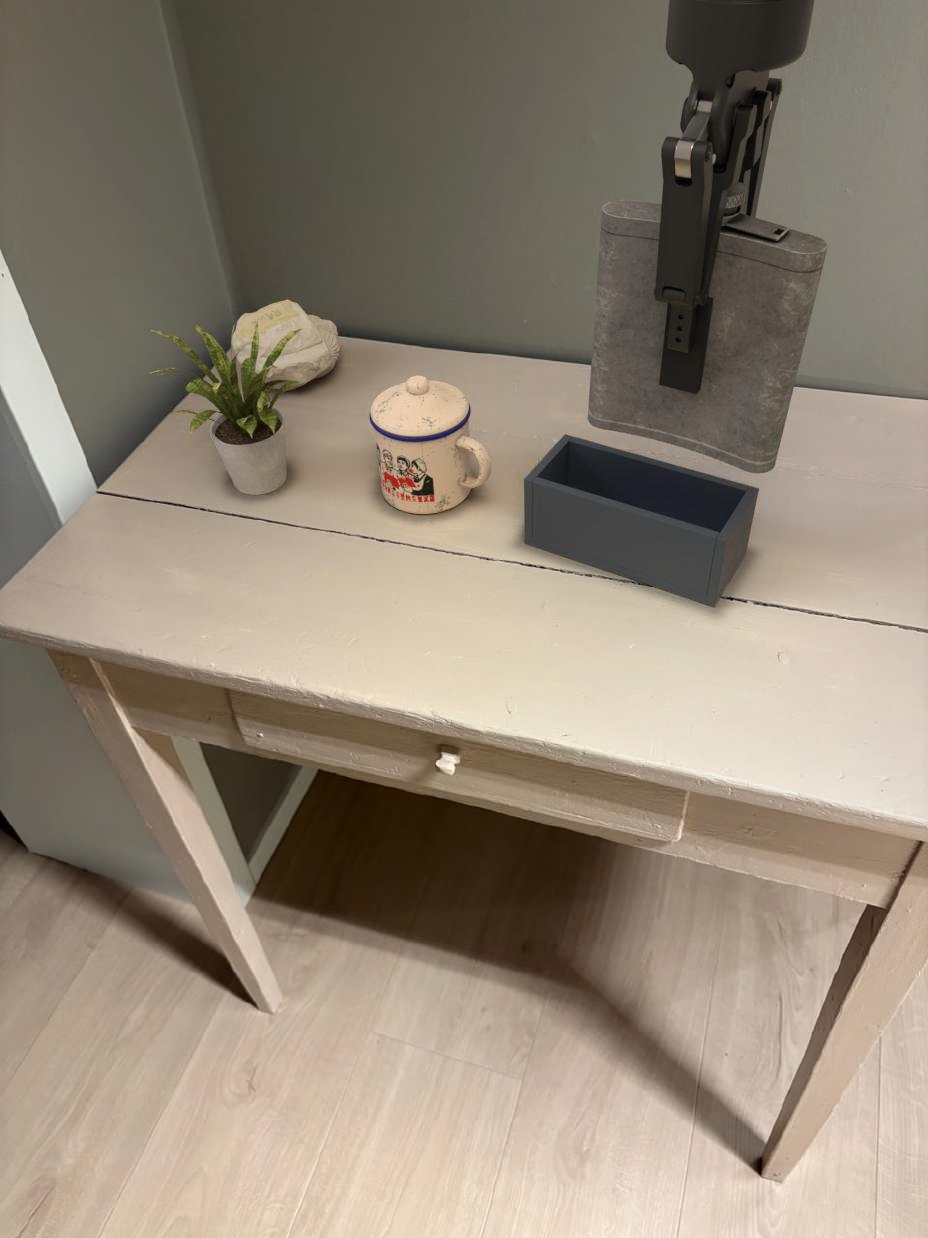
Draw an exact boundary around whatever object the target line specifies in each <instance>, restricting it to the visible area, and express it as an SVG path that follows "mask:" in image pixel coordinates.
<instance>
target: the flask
mask: <svg viewBox="0 0 928 1238" xmlns="http://www.w3.org/2000/svg"><path fill="white" fill-rule="evenodd" d="M746 187H747V186H745V184H744V183H741V182H737V183H736V184H735V185H733V186H731V187H730V188H729V190H728V195H727V200H726V206H725V211H724V216H723V221H722V226H721V232H720V237H719V242H718V247H717V252H716V258H715V263H714V268H713V273H712V278H711V284H710V289H709V297H711V298H714V299H713V306H712V313H711V320H710V327H709V334H708V341H707V348H706V355H705V362H704V369H703V376H702V383H701V389H700V390H699V392H698V393H697V394H693V393H689V392H685V391H681V390H677V389H673V388H669V387H665V386H661V385H659V380H660V371H661V361H662V352H663V343H664V334H665V324H666V315H667V306H668V303H665V302H661V301H656V300H655V295H654V288H655V286H656V273H657V259H658V246H659V232H660V219H661V205H662V203H660V202H650V201H644V200H642V201H641V200H633V199H617V200H611V201H608V202H607V203H605V204H603V206H602V208H601V209H602V210H601V221H600V222H601V223H600V236H599V250H598V263H597V275H596V277H597V280H596V293H595V306H594V319H593V320H594V322H593V332H592V333H593V335H592V349H591V352H592V353H591V362H590V363H591V364H590V376H589V390H588V391H589V393H588V406H587V421H588V423H589V425H591V426H592V427H594V428H596V429H600V430H604V431H605V430H606V431H612V432H618V433H621V434H622V433H623V434H628V435H631V436H637V437H642V438H645V439H650V440H653V441H658V442H661V443H665V444H667V445H672V446H675V447H678V448H682V449H685V450H689V451H692V452H695V453H697V454H701V455H704V456H706V457H709V458H712V459H715V460H717V461H720V462H722V463H725V464H728V465H730V466H732V467H734V468H736V469H739V470H741V471H744V472H746V473H749V474H758V475H759V474H765V473H768V472H770V471H772V470H773V469H774V468H775V466H776V464H777V460H778V454H779V450H780V446H781V443H782V438H783V434H784V430H785V426H786V421H787V418H788V413H789V409H790V404H791V402H792V397H793V392H794V388H795V384H796V380H797V376H798V372H799V367H800V364H801V359H802V355H803V352H804V347H805V344H806V343H805V342H806V339H807V336H808V335H807V334H808V330H809V327H810V322H811V318H812V314H813V311H814V306H815V301H816V297H817V293H818V290H819V286H820V285H819V284H820V281H821V277H822V272H823V269H824V265H825V260H826V255H827V251H828V248H829V244H828V242H827V241H826V240H825V239H823V238H822V237H820V236H817V235H814V234H812V233H807V232H804V231H801V230H796V229H794V228H793V229H792V228H790V227H789V226H784V225H781V224H778V223H774V222H772V221H768V220H765V219H761V218H758V217H751V216H748V215H745V214H741V213H740V212H741V206H740V205H741V204H742V203H744V201H745V196H746V190H747V188H746Z"/></svg>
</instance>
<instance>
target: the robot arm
mask: <svg viewBox="0 0 928 1238" xmlns="http://www.w3.org/2000/svg"><path fill="white" fill-rule="evenodd" d="M815 1H816V0H668V11H667V23H666V34H665V44H664V45H665V46H664V47H665V51H666V54H667V55H668V57H669V58H670V59H671V60H672V61H673V62H675V63H676V64H678V65H683V66H685V67H686V68H687V69H688V70H689V71H690V73H691V74H692V81H691V83H690V88H689V92H688V96H686V98H685V100H684V102H683V105H682V110H681V115H680V116H681V117H680V123H679V128H680V131H681V133H682V134H681V135H682V136H681V137H677V136H671V135H670V136H669V135H668V136H665V138H664V139H663V143H662V145H661V149H660V156H661V157H660V158H661V159H660V160H661V171H662V193H661V204H662V205H661V219H660V232H659V246H658V259H657V273H656V286H655V288H654V295H655V300H656V301H661V302H665V303H668V306H667V315H666V324H665V334H664V343H663V352H662V361H661V371H660V380H659V385H661V386H665V387H669V388H673V389H677V390H681V391H685V392H689V393H693V394H697V393H698V392H699V390H700V389H701V383H702V376H703V369H704V362H705V355H706V348H707V341H708V334H709V327H710V320H711V313H712V306H713V299H714V298H711V297H709V289H710V284H711V278H712V273H713V268H714V263H715V258H716V252H717V247H718V242H719V237H720V232H721V226H722V221H723V216H724V211H725V206H726V200H727V195H728V190H729V188H730V187H731V186H733V185H735V184H736V183H737V182H741V183H744V184H745V186H747V187H746V188H747V190H746V196H745V201H744V203H742V204H741V205H740V206H741V212H740V213H741V214H745V215H748V216H751V217H755V218H757V217H756V216H757V209H758V205H759V200H760V194H761V188H762V182H763V178H764V173H765V167H766V160H767V156H768V150H769V144H770V140H771V134H772V128H773V123H774V118H775V116H776V112H777V108H778V103H779V100H780V96H781V94H782V93H783V79H782V78H779V77H770V71H774V70H779V69H782V68H784V67H787V66H789V65H792V64H794V63H795V62H797V61H798V60H799V59H800V58H802V56H803V55H804V53H805V51H806V49H807V46H808V39H809V34H810V28H811V23H812V19H813V18H812V17H813V11H814V8H815Z"/></svg>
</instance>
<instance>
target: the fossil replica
mask: <svg viewBox="0 0 928 1238" xmlns="http://www.w3.org/2000/svg"><path fill="white" fill-rule="evenodd" d="M236 321H237V322H236V325H235V329H234V331H233V336H232V350H233V352H234V355H236V354H237V353H238V352H239V351H240V349H241V348H242V347H243V349H242V350H241V351H240V352H239V353H238V354H237V356H236V359H237V360H238V363H239V364H240V365H241V364H242V362H243V361H244V360H245V359H246V358H250V356H251V347H252V340H253V337H254V332H255V326H256V323H257V322H258V330H259V349H258V356H257V361H256V368H255V376H256V375H257V374H259V373H260V372H261V371H262V368H263V366H264V364H265V362H266V360H267V358H268V357H269V355H270V354H271V352H272V351H273V350H274V348H275V347H276V346H277V344H278V343H279V342H280V341H281V340H282V339H283V338H284V337H285V336H286V335H288V334H289V333H291V332H293V331H296V330H298V329H302V328H304V329H302V330H300V331H299V332H298V333H297V334H296V335H295V336H293V337H292V338H291V339H290V340H289V341H288V342H287V343H286V345H285V347H284V349H283V351H282V353H281V354H280V356H279V357H278V358H277V360H276V361H275V362H274V364H273V365H274V366H276V367H275V368H270V370H269V372H268V374H267V376H266V379H265V381H264V383H263V384H265V383H267V382H270V381H274V380H282V379H288V380H293V381H299V383H302V384H296V385H294V386H292V387H291V388H289V389H288V390H287V391H293V390H295V389H296V388H301V387H302V386H305V385H306V384H307V383H309V382H311V381H313V380H317V379H318V378H323V377H324V376H326V375H328V374H329V372H331V371H332V370H333V369H334V368H335V366H336V362H337V361H338V360H339V356H340V353H341V352H340V349H341V346H340V345H339V340H338V339H339V337H338V336H339V332H338V327H337V326H336V324H335V323H334V322H333V321H331V320H329V319H323V318H322V319H321V318H320V317H319V316H318V315H313V314H307V313H306V312H305V311H304V310H303V308H302V306H301V305H300V304H299V303H297V302H296V301H292V300H290V299H284V300H280V301H277V302H274V303H270V304H269V305H266V306H263V307H261V308H259V309H258V310H257V311H253V312H245V313H243V314H242V315H241V316H240V317H239V318H238V319H237V320H236ZM288 382H292V381H287V382H282V383H278V384H276V385H274V386H273V387H272V388H271V389H274V390H279V389H280V388H281V387H282V386H283V385H284V384H286V383H288Z"/></svg>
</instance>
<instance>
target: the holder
mask: <svg viewBox="0 0 928 1238" xmlns="http://www.w3.org/2000/svg"><path fill="white" fill-rule="evenodd" d="M759 491H760V488H759V487H755V486H752V485H749V484H745V483H741V482H737V481H734V480H731V479H727V478H724V477H720V476H716V475H713V474H710V473H705V472H702V471H698V470H695V469H692V468H687V467H684V466H681V465H677V464H673V463H670V462H666V461H663V460H659V459H656V458H652V457H649V456H644V455H641V454H638V453H634V452H630V451H627V450H624V449H620V448H616V447H612V446H609V445H606V444H601V443H598V442H595V441H591V440H588V439H584V438H580V437H577V436H573V435H571V434H567V433H564V434H563V435H562V437H561V438H560V439H559V440H558V441H557V442H556V443H555V444H554V445H553V447H551V449H550V450H549V451H548V452H547V453H546V454H545V455H544V457H542V459H541V460H540V461H539V462H538V463H537V464H536V465H535V466H534V467H533V468H532V469H531V471H530V472H529V473H528V474H527V475H526V476H525V477H524V478H523V501H524V503H523V508H524V509H523V514H524V515H523V517H524V519H523V520H524V521H523V523H524V525H523V526H524V529H523V530H524V544H526V545H529V546H532V547H535V548H538V549H541V550H543V551H546V552H549V553H552V554H556V555H557V556H561V557H564V558H567V559H570V560H573V561H576V562H579V563H582V564H585V565H587V566H590V567H593V568H596V569H600V570H602V571H605V572H609V573H612V574H614V575H618V576H620V577H623V578H627V579H630V580H632V581H636V582H638V583H641V584H645V585H647V586H650V587H653V588H657V589H659V590H661V591H665V592H668V593H671V594H674V595H677V596H680V597H682V598H685V599H689V600H692V601H695V602H697V603H700V604H704V605H706V606H709V607H712V608H715V607H716V605H717V604H718V602H719V600H720V598H721V597H722V595H723V594H724V592H725V590H726V588H727V587H728V586H729V584H730V582H731V580H732V579H733V577H734V575H735V573H736V571H737V570H738V569H739V567H740V566H741V563H742V562H743V560H744V558H745V557H746V556H747V551H748V547H749V542H750V536H751V531H752V527H753V522H754V517H755V511H756V507H757V502H758V497H759Z"/></svg>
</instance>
